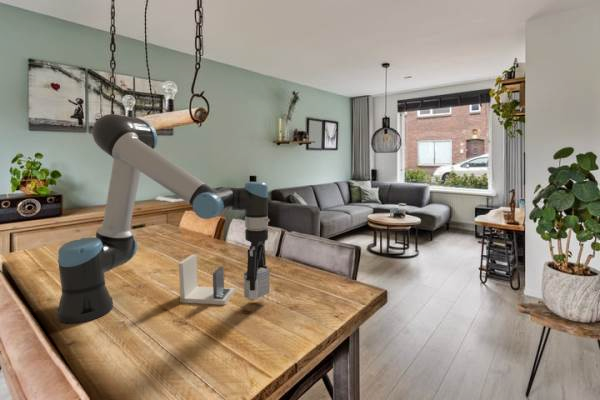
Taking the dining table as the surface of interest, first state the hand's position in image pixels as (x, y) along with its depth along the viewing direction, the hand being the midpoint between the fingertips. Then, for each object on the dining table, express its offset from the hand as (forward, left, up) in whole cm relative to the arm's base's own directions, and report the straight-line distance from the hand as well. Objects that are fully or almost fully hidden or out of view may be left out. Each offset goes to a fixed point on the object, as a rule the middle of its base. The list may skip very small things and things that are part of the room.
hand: (256, 292), depth 111 cm
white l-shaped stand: (-19, +3, -4) cm, 19 cm away
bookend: (-13, +2, -2) cm, 14 cm away
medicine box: (0, 0, -1) cm, 1 cm away
